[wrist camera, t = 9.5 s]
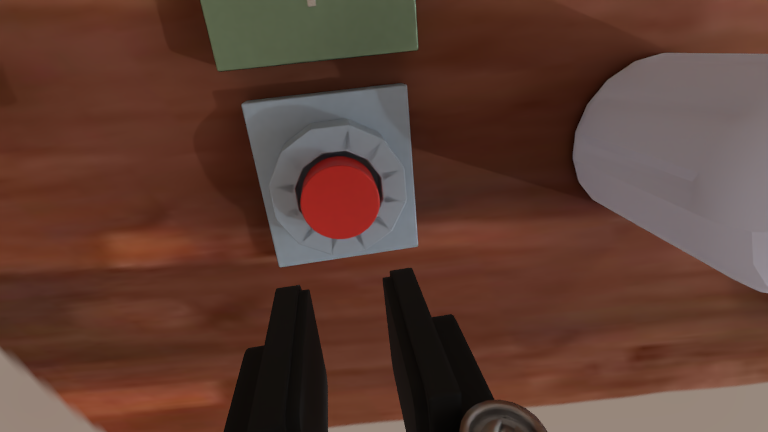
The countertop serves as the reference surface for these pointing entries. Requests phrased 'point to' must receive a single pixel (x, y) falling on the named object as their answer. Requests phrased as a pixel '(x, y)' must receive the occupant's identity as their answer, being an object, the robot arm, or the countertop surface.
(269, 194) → the grey square piece
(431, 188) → the countertop surface
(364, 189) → the button
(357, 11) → the plate
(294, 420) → the robot arm
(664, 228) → the soap bottle
